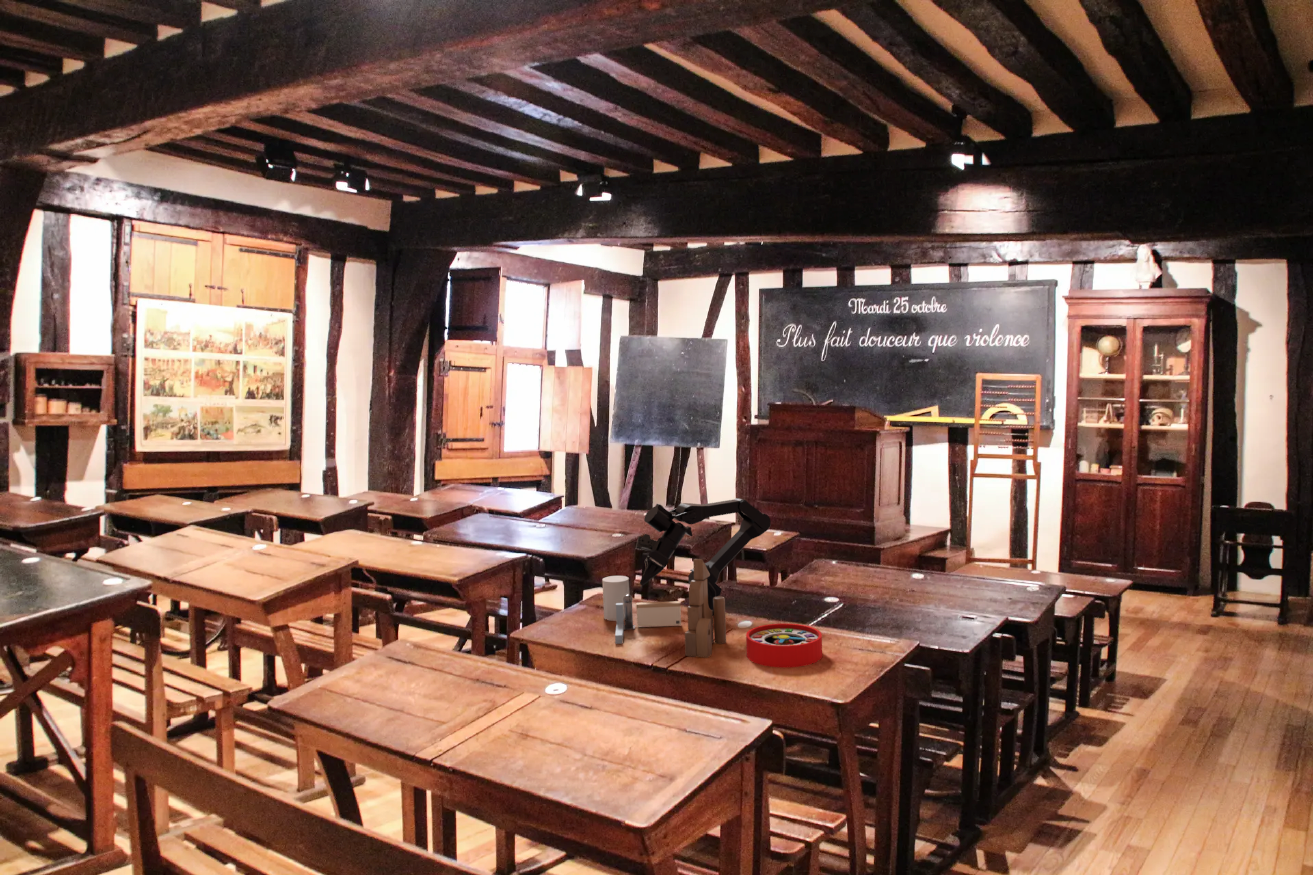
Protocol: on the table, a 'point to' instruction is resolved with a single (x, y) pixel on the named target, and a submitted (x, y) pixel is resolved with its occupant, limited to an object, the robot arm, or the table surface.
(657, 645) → the table surface
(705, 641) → the wooden toy
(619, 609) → the strip
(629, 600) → the grey metallic round-topped post
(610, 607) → the off-white flat-topped cylinder
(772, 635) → the toy clock
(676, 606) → the beige flat block
